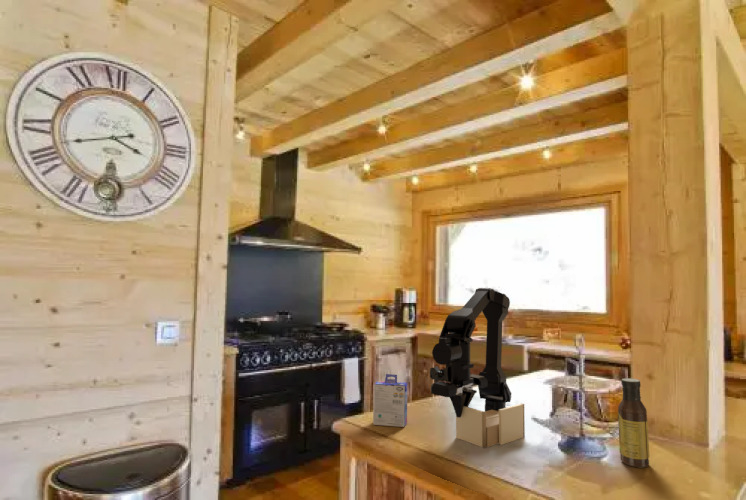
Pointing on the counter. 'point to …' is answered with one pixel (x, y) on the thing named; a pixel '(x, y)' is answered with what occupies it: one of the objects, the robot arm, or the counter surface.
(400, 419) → the ink cartridge box
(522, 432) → the side flap
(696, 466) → the counter surface
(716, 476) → the counter surface
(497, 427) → the carton
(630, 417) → the sauce bottle
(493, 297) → the robot arm
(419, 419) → the counter surface
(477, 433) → the front flap
